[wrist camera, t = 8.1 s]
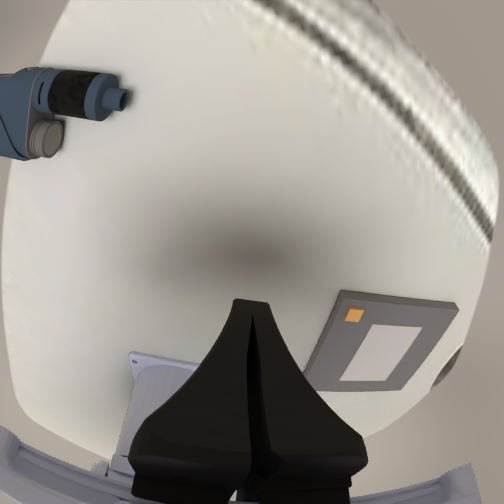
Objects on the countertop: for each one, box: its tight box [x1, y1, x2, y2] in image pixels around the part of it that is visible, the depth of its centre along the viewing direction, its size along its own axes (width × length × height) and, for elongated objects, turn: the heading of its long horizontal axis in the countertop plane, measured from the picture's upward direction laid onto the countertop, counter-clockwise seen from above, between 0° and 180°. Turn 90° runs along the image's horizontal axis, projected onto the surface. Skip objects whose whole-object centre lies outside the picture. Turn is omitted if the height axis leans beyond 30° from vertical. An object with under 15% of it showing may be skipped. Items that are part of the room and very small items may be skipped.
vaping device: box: [0, 67, 129, 161], centre depth 11 cm, size 3×5×12 cm
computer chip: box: [303, 290, 459, 392], centre depth 21 cm, size 10×10×1 cm
